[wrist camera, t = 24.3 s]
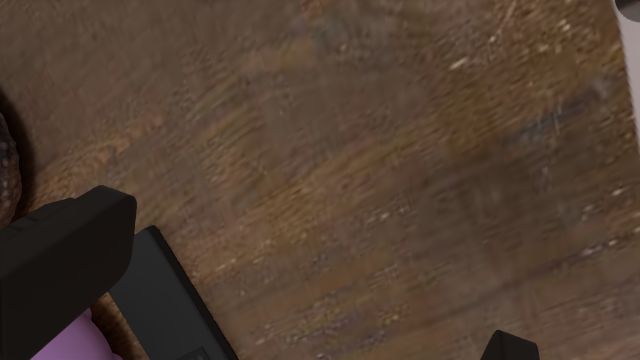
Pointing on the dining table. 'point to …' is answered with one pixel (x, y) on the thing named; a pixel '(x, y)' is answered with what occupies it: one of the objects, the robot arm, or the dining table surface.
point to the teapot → (78, 343)
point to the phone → (166, 305)
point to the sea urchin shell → (8, 175)
